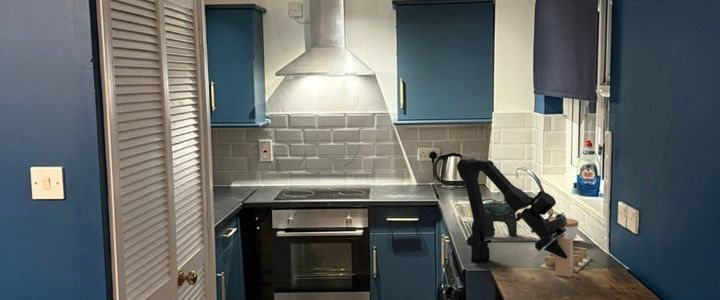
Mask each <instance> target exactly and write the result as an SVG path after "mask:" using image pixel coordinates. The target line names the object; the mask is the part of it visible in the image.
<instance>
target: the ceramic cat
mask: <svg viewBox="0 0 720 300" xmlns="http://www.w3.org/2000/svg"><path fill="white" fill-rule="evenodd" d="M500 193H502V192H501V191H500V190H499V191H498V192H497V193H496V195H499V194H500ZM489 200H490V201H489ZM482 201H483V205H484V209H485V214H486V217H487V218H488V220H489V221H491V220H493V223H496V222H497V223H498V222H499V223H504V224H505V226H506V228H507V231H508V232H507V233H508V236H509V237H517V234H518V233H517V232H518V221H516V218H517V215H516V214H517V213H518V211H519V210H512V209H511V208H510V207H509V206H508V204H507V203H506V201H505V198H504V199H503V200H500V201H499V200H496V199H493V198H486V199H482ZM485 201H486V202H485ZM487 201H488V202H487Z"/></svg>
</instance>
